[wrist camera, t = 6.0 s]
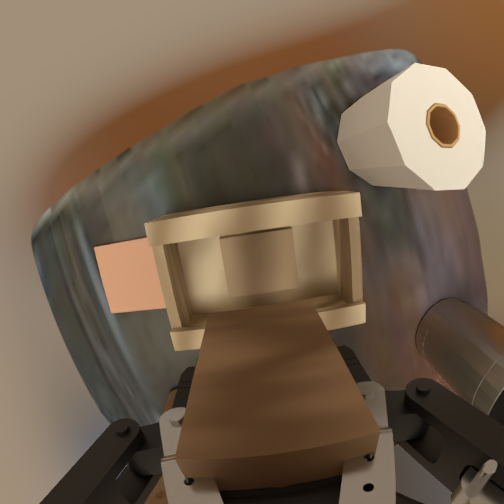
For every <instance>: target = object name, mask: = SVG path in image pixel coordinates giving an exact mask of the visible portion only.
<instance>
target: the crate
mask: <svg viewBox="0 0 504 504" xmlns="http://www.w3.org/2000/svg"><path fill="white" fill-rule="evenodd" d="M359 216H362V210H361V199H360V193H359V192H350V191H340V190H332V191H323V192H314V193H306V194H298V195H290V196H282V197H274V198H267V199H260V200H253V201H246V202H239V203H232V204H226V205H219V206H213V207H207V208H201V209H195V210H189V211H183V212H177V213H172V214H166V215H163V216H161V217H159V218H156V219H154V220H152V221H149V222H147V223H145V229H146V235H147V240H148V245H149V247H152V249H153V253H154V258H155V263H156V267H157V272H158V276H159V280H160V285H161V289H162V293H163V297H164V301H165V305H166V309H167V313H168V316H169V320H170V324H171V328H172V329H171V331H170V335H171V338H172V342H173V345H174V348H175V351H180V350H192V349H200V347H201V343H202V339H203V335H204V331H205V327H206V323H207V319H208V315H209V313H215V312H224V311H231V310H239V309H246V308H254V307H261V306H268V305H274V304H281V303H288V302H294V301H300V300H306V299H311V301H312V303H313V305H314V306H315V308H316V310H317V312H318V314H319V316H320V317H321V319H322V321H323V323H324V325H325V326H326V328H327V330H333V329H338V328H343V327H348V326H352V325H357V324H362V323H366V303H365V302H364V301H363V293H362V260H361V241H360V226H359Z"/></svg>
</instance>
